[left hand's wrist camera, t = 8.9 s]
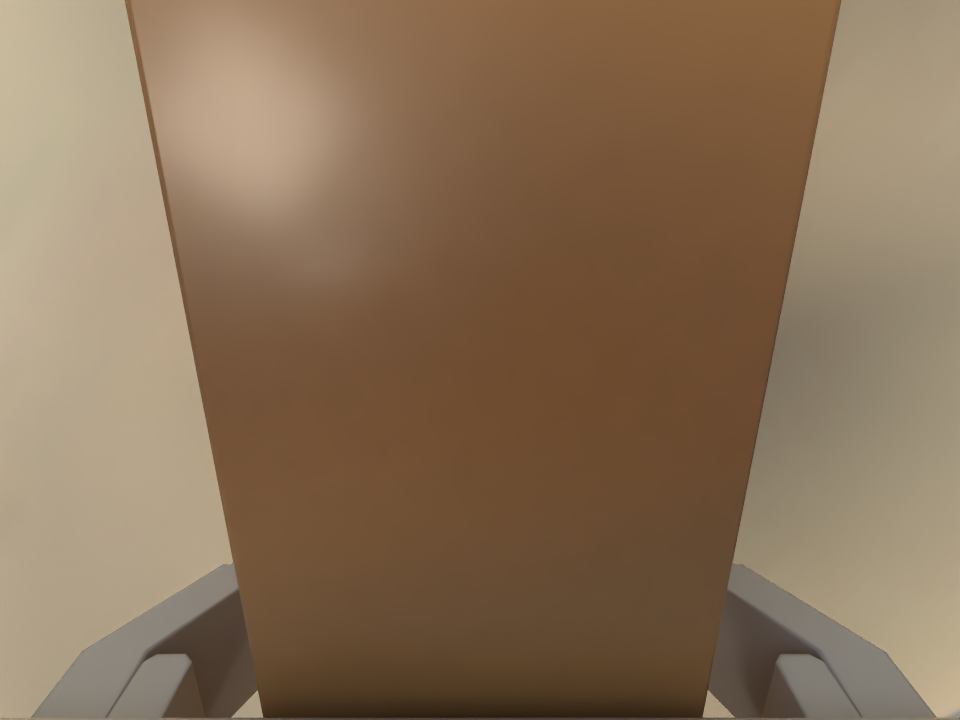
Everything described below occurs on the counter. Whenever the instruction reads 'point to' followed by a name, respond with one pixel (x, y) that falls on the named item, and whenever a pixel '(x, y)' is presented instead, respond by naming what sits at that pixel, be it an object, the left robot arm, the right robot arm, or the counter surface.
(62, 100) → the counter surface
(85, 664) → the left robot arm
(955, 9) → the counter surface
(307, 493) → the post
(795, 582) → the counter surface
